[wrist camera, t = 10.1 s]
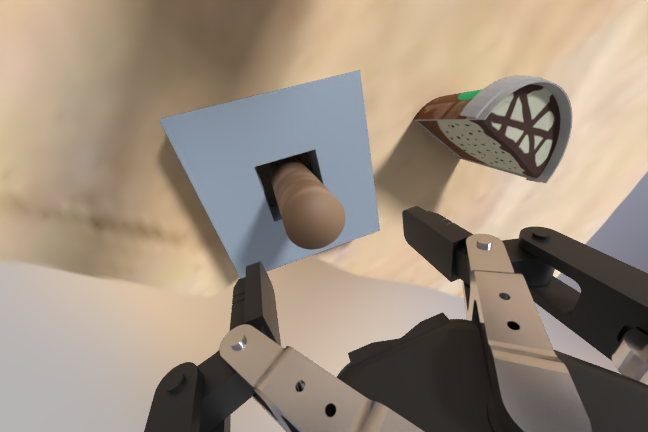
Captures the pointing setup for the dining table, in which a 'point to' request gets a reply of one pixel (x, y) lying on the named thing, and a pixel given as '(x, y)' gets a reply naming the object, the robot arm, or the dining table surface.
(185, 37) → the dining table surface
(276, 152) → the socket block
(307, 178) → the walnut peg
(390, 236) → the dining table surface
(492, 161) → the food container
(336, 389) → the robot arm
